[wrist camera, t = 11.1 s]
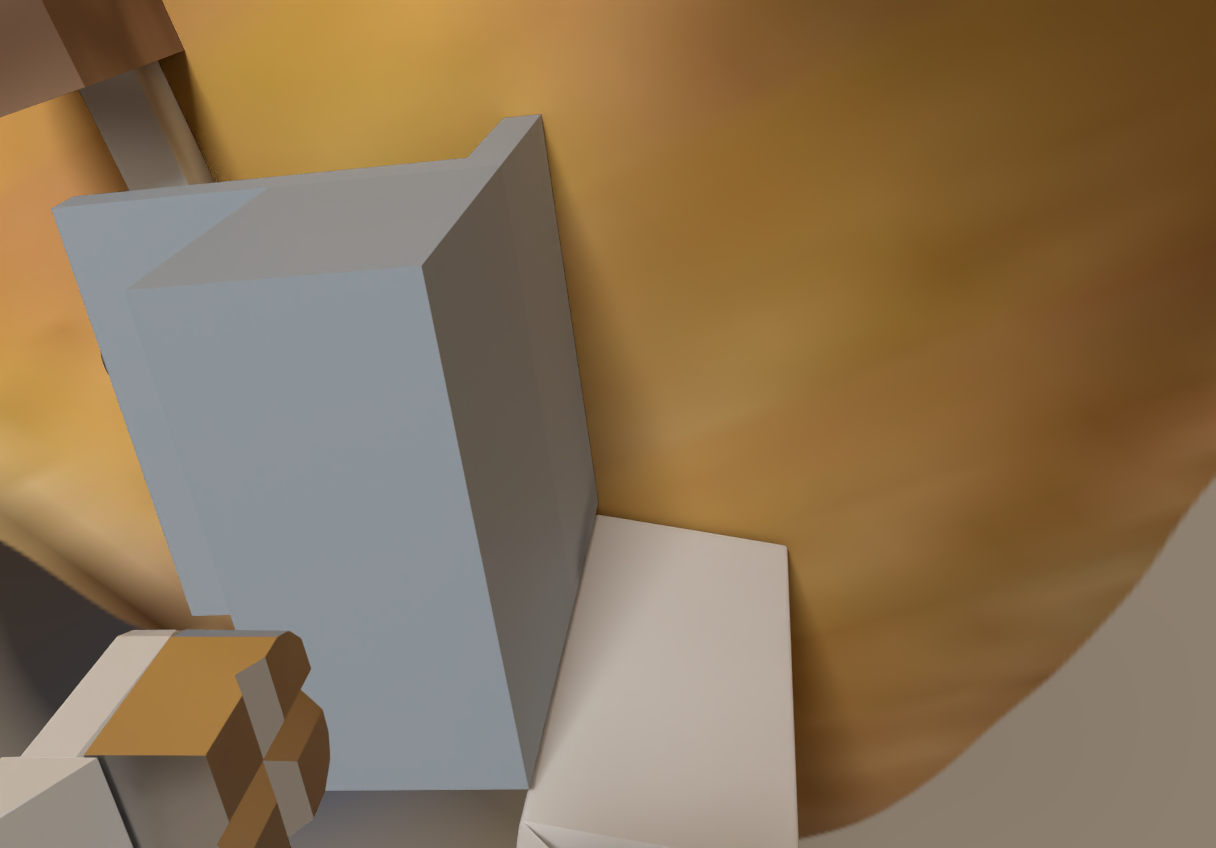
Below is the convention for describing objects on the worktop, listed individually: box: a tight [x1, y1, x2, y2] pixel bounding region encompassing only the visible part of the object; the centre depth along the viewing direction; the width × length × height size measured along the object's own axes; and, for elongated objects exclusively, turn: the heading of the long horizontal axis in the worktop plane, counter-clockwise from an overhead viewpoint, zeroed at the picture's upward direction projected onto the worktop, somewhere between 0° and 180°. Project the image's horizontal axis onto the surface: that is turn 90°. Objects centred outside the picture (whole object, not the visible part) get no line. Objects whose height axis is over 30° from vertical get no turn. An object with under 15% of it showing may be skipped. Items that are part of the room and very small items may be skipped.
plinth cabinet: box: [51, 114, 598, 791], centre depth 33 cm, size 14×13×14 cm
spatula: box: [0, 0, 215, 191], centre depth 36 cm, size 17×4×6 cm, turn 18°
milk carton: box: [517, 515, 799, 848], centre depth 35 cm, size 7×7×19 cm
